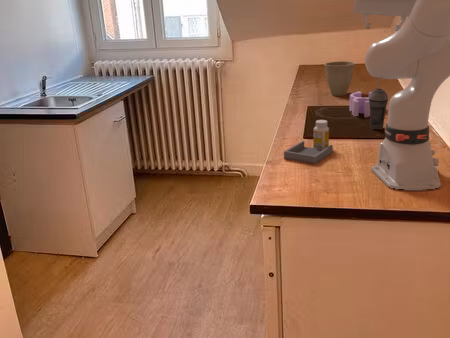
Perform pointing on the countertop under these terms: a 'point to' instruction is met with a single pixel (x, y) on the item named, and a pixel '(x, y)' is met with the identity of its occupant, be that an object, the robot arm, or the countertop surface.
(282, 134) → the countertop surface
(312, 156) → the tray
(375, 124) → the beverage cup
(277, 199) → the countertop surface
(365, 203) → the countertop surface
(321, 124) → the supplement bottle
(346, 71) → the plant pot
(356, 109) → the clip
